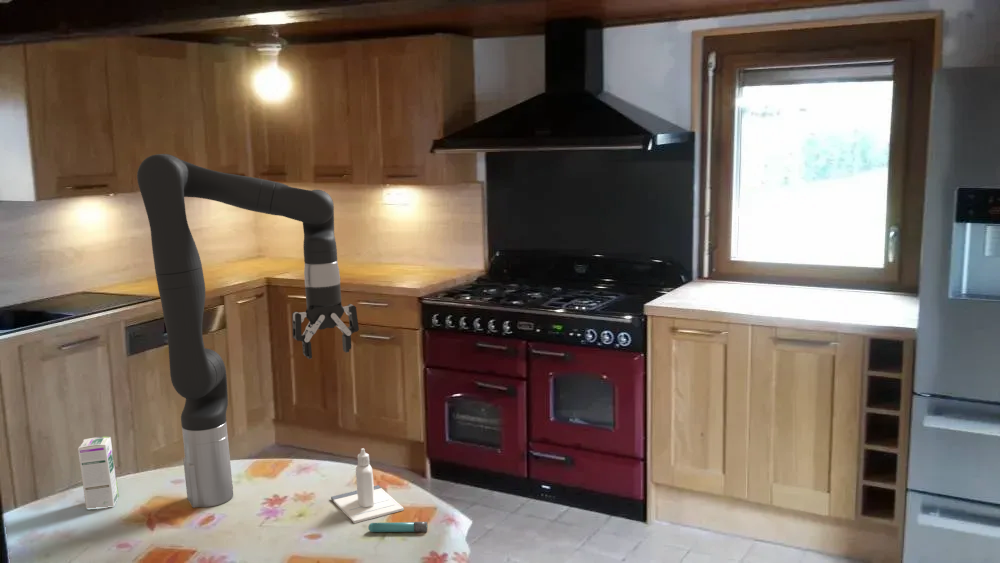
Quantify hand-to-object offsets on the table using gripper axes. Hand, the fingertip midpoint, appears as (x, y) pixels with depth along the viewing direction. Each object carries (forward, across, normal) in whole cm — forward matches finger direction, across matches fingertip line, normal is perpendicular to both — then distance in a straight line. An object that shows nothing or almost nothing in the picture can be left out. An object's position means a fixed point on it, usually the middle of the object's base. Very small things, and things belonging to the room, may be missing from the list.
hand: (327, 354), depth 196 cm
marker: (+30, -2, +30) cm, 43 cm away
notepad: (+30, -2, +14) cm, 33 cm away
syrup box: (+30, +47, -19) cm, 59 cm away
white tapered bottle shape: (+30, -1, +15) cm, 33 cm away
